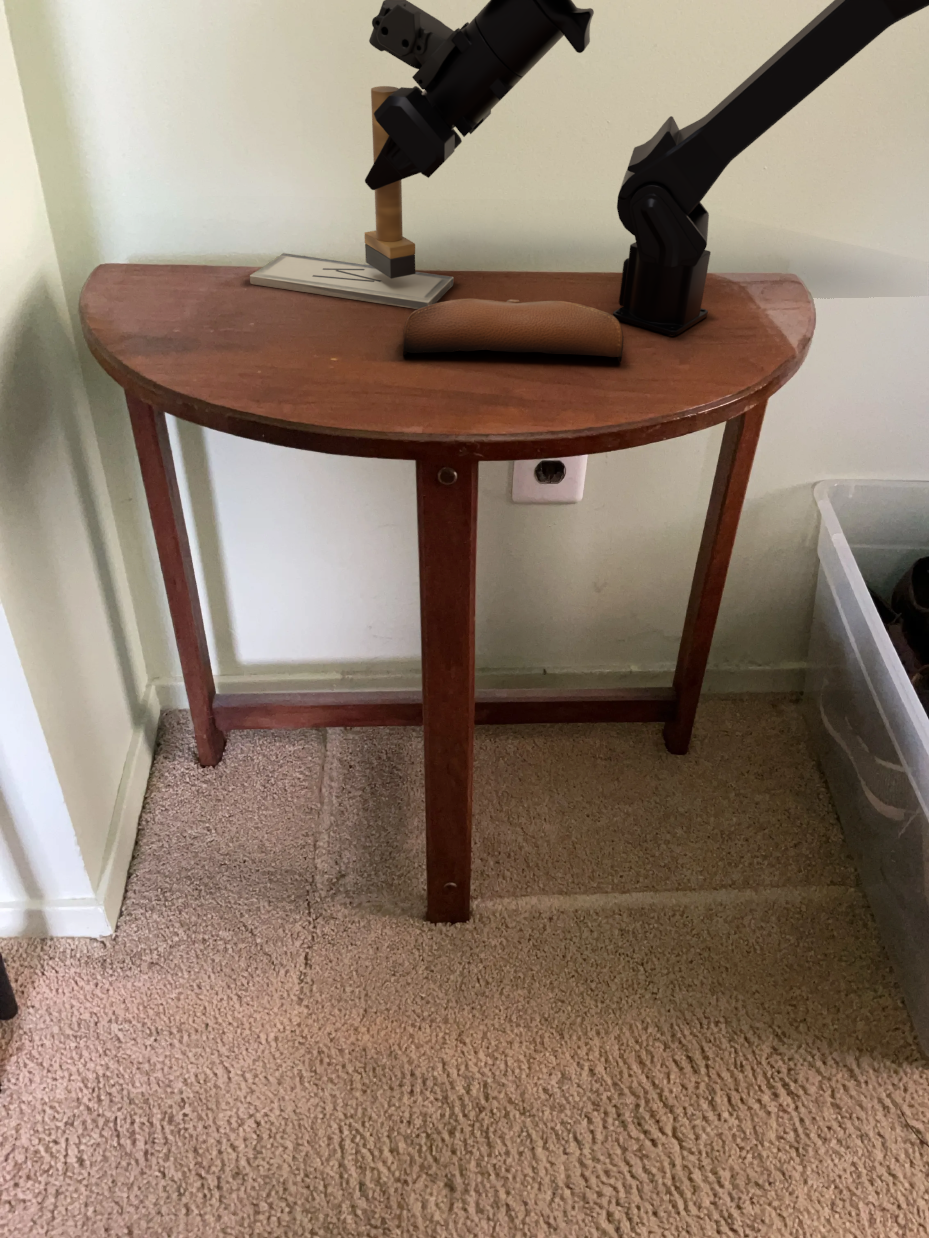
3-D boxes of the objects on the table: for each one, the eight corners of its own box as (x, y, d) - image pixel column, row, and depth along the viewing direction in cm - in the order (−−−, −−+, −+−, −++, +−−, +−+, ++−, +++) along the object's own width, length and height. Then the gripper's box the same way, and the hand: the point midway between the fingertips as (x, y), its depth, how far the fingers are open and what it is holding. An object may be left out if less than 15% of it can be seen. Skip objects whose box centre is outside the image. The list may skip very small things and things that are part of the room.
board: (453, 285, 95) (453, 276, 94) (428, 311, 90) (428, 302, 89) (283, 260, 99) (283, 252, 99) (250, 284, 94) (249, 275, 93)
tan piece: (415, 274, 91) (413, 93, 82) (391, 279, 90) (385, 96, 81) (389, 258, 94) (384, 82, 85) (365, 262, 93) (357, 85, 84)
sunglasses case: (612, 322, 87) (624, 271, 81) (614, 391, 84) (627, 343, 78) (408, 316, 87) (404, 264, 81) (404, 384, 85) (400, 336, 78)
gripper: (458, -52, 83) (341, 85, 92) (397, -30, 69) (266, 130, 78) (544, 59, 87) (424, 181, 96) (502, 102, 73) (366, 241, 82)
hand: (373, 181), depth 88 cm, fingers closed on tan piece, 2 cm apart
